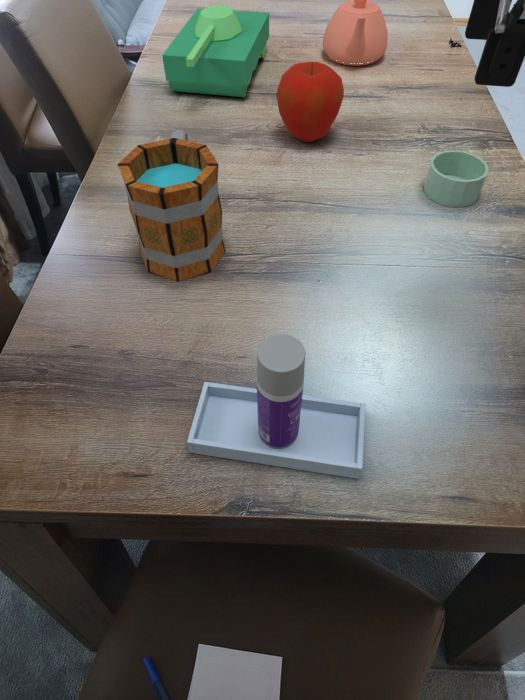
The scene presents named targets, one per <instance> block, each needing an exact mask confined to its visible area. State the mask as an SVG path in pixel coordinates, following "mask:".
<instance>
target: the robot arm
mask: <svg viewBox="0 0 525 700" xmlns="http://www.w3.org/2000/svg"><path fill="white" fill-rule="evenodd" d="M512 2H513V0H473V2H472V7H471V9H470V13H469V17H468V20H467V23H466V28H465V30H464V36H465V38H466V39H467V40H480V41H481V40H482V41H485V43H484V46H483V50H482V53H481V56H480V59H479V62H478V65H477V68H476V71H475V74H474V78H473V79H474V83H475V84H476V85H477V86H490V87H502V88H503V87H504V88H510V87H512V86H514V85H515V84H516V80H517V78H518V76H519V73H520V70H521V67H522V65H523V62H524V61H525V0H516V2H514V3H513V4H512ZM512 5H513V6H512ZM511 6H512V7H511Z"/></svg>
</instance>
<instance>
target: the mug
mask: <svg viewBox="0 0 525 700" xmlns="http://www.w3.org/2000/svg"><path fill="white" fill-rule="evenodd" d="M117 167H118V170H119V172H120V175H121V178H122V180H123V183H124V187H125V191H126V195H127V201H128V209H129V212H130V215H131V219H132V221H133V224H134V227H135V229H136V234H137V238H138V244H139V245H138V246H139V252H140V255H141V258H142V261H143V264H144V265H145V266H144V267H145V268H146V272H147V273H149V274H153V275H156V276H159V277H161V278H164V279H165V278H166V279H168V280H172V281H175V282H181V281H185V280H189V279H192V278H197V277H199V276H203V275H207V274H210V273H212V272H213V270H214V269H215V268H216V266H217V265H218V264H219V262H220V261H221V259H222V258H223V256H224V255H225V253H226V251H227V250H226V247H225V243H224V238H223V208H222V204H221V197H220V193H219V191H220V190H219V182H218V181H219V162H217V160H216V158H215V156H214V154H213V153H212V151H211V150H210V148H209V147H208V146H207V144H204V143H203V144H202V143H199V142H194V141H191V140H189V136H188V132H186V130H182V129H178V130H177V129H176V130H174V131H172V132H171V133H170V138H166V139H161V140H156V141H152V142H147V143H140V144H137V146H136V147H134V148H133V149H132V150H131V151H130V152H129V153H128V154H127V155H126V156H124V158H123V159H121V160H120V161H119V162H118V163H117Z"/></svg>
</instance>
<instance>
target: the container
mask: <svg viewBox="0 0 525 700" xmlns="http://www.w3.org/2000/svg"><path fill="white" fill-rule="evenodd" d="M305 364H306V349H305V347H304V344H303V343H302V342H301V341H300V340H299V339H298V338H296V337H294V336H293V335H290V334H285V333H277V334H272V335H270V336H267V337H266V338H264V339H263V340H262V341H261V342H260V343H259V345H258V347H257V351H256V389H257V408H258V433H259V437H260V439H261V441H262V442H263V443H264V444H265V445H267V446H268V447H271V448H274V449H283V448H287V447H289V446H290V445H292V444H293V443H294V442H295V441H296V439H297V436H298V431H299V422H300V413H301V404H302V395H304V386H305V385H304V384H305V383H304V382H305V368H306V367H305V366H306V365H305Z"/></svg>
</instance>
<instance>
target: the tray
mask: <svg viewBox="0 0 525 700" xmlns="http://www.w3.org/2000/svg"><path fill="white" fill-rule="evenodd" d="M365 422H366V403H363V402H356V401H347V400H340V399H333V398H325V397H319V396H311V395H305V394H302V404H301V413H300V422H299V431H298V436H297V439H296V441H295V442H294V443H293V444H292V445H290V446H289V447H287V448H283V449H274V448H271V447H268V446H267V445H265V444H264V443H263V442H262V441H261V439H260V437H259V433H258V408H257V388H253V387H247V386H239V385H232V384H226V383H219V382H218V383H217V382H210V381H204V382H203V385H202V389H201V392H200V396H199V399H198V402H197V406H196V409H195V413H194V416H193V420H192V423H191V426H190V430H189V433H188V437H187V439H186V444H187V448H188V452H189V453H190V454H194V455H195V454H196V455H201V456H208V457H213V458H220V459H221V458H222V459H228V460H235V461H241V462H247V463H255V464H261V465H267V466H273V467H279V468H285V469H286V468H287V469H292V470H298V471H306V472H311V473H317V474H323V475H332V476H336V477H337V476H338V477H345V478H350V479H357V480H359V479H360V477H361V475H362V471H363V465H364V463H363V462H364V444H365V425H366V424H365Z"/></svg>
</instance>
